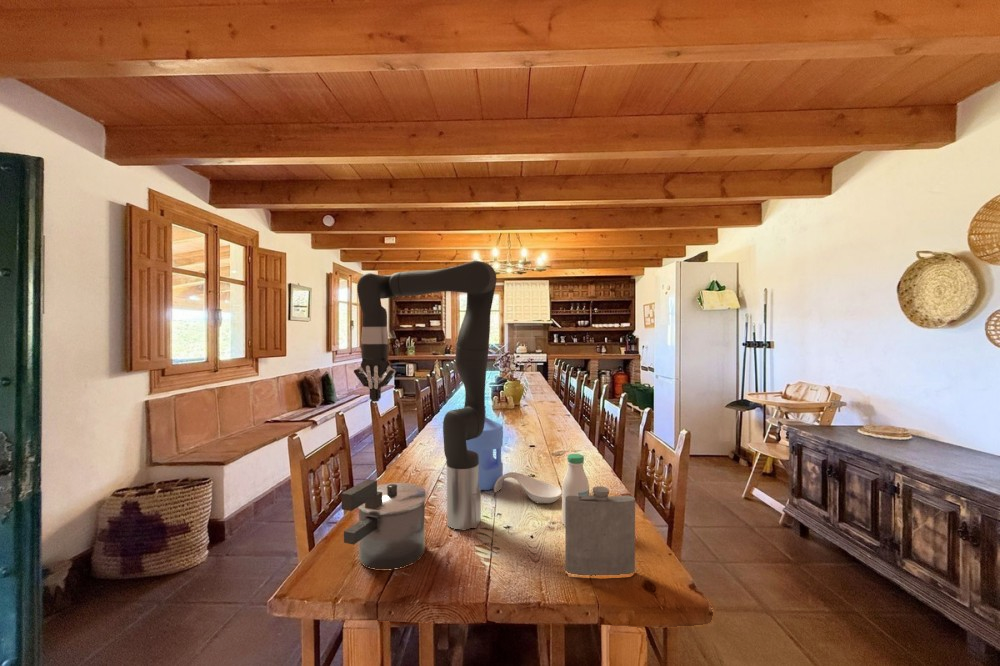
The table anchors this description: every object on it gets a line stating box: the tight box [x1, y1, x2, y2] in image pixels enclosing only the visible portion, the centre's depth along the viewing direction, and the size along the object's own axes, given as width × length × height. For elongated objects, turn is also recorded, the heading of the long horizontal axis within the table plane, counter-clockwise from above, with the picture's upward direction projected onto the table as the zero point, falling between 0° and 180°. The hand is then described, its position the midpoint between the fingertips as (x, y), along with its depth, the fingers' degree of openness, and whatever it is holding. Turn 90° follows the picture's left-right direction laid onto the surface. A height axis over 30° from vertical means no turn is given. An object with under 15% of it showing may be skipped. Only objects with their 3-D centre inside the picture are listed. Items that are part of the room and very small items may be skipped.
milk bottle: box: [561, 453, 590, 526], centre depth 124 cm, size 8×8×20 cm
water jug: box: [466, 405, 504, 491], centre depth 157 cm, size 16×16×28 cm
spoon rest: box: [493, 471, 562, 504], centre depth 144 cm, size 24×12×7 cm, turn 62°
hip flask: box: [564, 486, 636, 576], centre depth 99 cm, size 16×4×20 cm, turn 90°
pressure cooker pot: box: [343, 502, 426, 569], centre depth 105 cm, size 24×16×13 cm, turn 159°
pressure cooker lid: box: [341, 478, 427, 515], centre depth 104 cm, size 25×17×8 cm, turn 160°
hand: (375, 401), depth 127 cm, fingers closed
